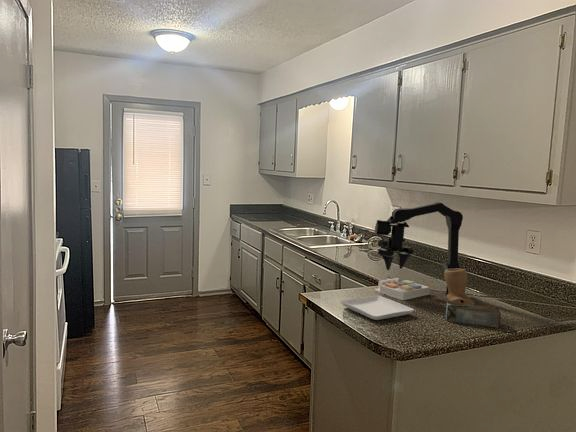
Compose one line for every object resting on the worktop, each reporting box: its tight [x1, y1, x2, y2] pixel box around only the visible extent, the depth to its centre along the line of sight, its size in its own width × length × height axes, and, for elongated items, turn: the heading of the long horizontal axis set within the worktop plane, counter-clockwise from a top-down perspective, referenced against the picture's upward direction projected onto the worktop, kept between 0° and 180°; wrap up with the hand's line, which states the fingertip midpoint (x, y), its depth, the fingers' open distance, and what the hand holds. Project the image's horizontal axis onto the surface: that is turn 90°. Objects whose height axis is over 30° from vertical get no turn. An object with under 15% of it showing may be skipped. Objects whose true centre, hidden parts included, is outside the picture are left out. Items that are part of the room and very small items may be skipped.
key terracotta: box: [385, 283, 399, 288], centre depth 211 cm, size 4×4×2 cm
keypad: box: [373, 277, 431, 301], centre depth 214 cm, size 16×20×4 cm
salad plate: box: [340, 294, 415, 321], centre depth 182 cm, size 21×21×3 cm
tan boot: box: [443, 268, 475, 305], centre depth 202 cm, size 15×12×15 cm
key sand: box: [400, 285, 414, 291], centre depth 208 cm, size 4×4×2 cm
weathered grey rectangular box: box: [445, 301, 501, 329], centre depth 176 cm, size 8×19×7 cm, turn 72°
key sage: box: [400, 279, 416, 285], centre depth 218 cm, size 4×4×2 cm
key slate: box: [408, 283, 422, 289], centre depth 212 cm, size 4×4×2 cm
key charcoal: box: [393, 280, 407, 286], centre depth 214 cm, size 4×4×2 cm
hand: (394, 269), depth 214 cm, fingers open, 9 cm apart
